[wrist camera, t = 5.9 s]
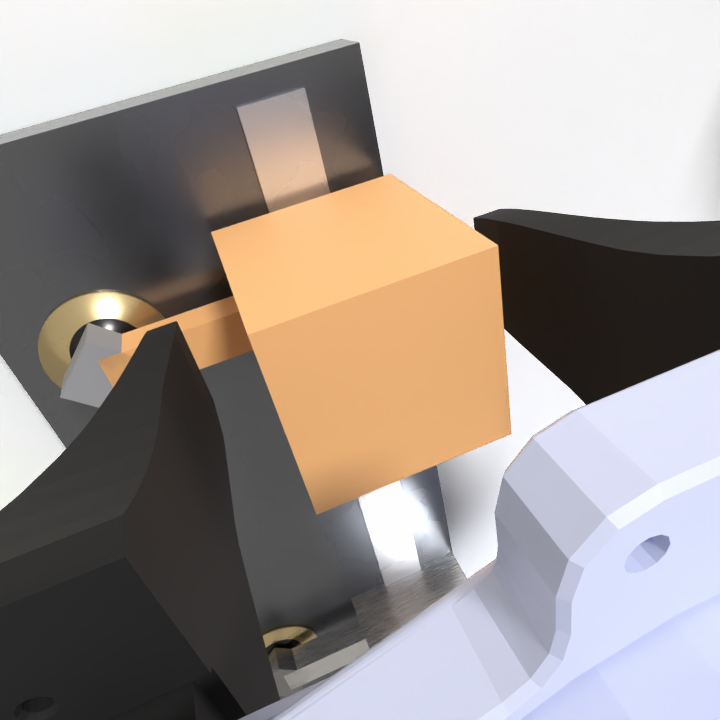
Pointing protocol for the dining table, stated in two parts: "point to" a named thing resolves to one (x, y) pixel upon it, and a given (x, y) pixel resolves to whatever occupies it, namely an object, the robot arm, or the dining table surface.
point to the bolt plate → (207, 285)
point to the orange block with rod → (350, 335)
